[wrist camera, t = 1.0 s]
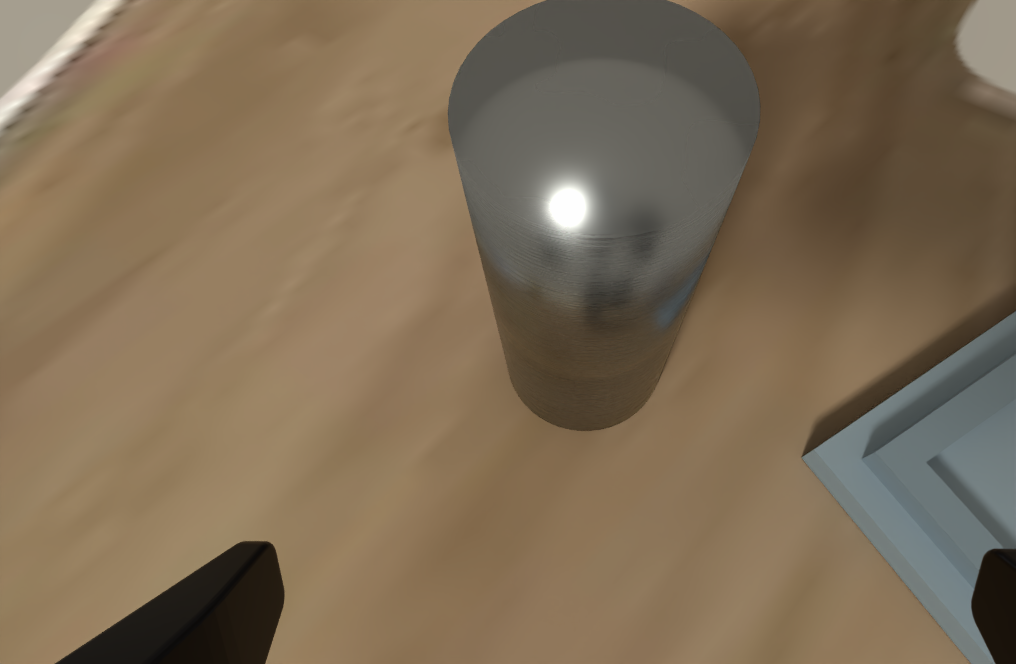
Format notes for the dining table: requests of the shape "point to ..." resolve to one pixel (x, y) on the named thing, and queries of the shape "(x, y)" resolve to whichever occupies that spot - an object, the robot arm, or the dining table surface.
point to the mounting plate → (936, 477)
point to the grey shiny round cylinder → (598, 189)
